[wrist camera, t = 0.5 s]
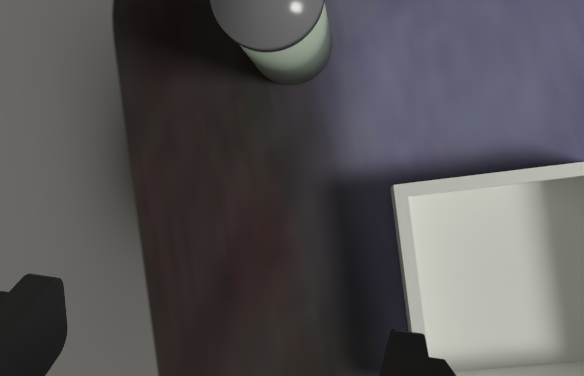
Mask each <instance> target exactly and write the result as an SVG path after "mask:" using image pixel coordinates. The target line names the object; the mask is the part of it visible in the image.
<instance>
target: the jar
mask: <svg viewBox="0 0 584 376" xmlns="http://www.w3.org/2000/svg"><path fill="white" fill-rule="evenodd" d="M324 1H325V0H210V3H211V7H212V11H213V13H214V16H215V18H216V20H217V22H218V23H219V25H220V26H221V28H222V29H223V30H224V31H225V33H226V34H227V35H228V36H229V37H230V38H231V39H232V40H233V41H234V42H236V43H237V44H239V45H240V46H241V47H242V49H243V50H244V51H245V53H246V54H247V55H248V56H249V58H250V59H251V60H252V62H253V63H254V64H255V66H256V67H257V68H258V69H259V71H260V72H261V73H262V74H263V75H264V76H265V77H266V78H268V79H269V80H271V81H273V82H275V83H278V84H282V85H298V84H302V83H305V82H307V81H309V80H311V79H313V78H314V77H316V76H317V75H318V74H319V73H320V72H321V71H322V70H323V69H324V67H325V66H326V64H327V62H328V60H329V58H330V54H331V50H332V36H331V32H330V27H329V22H328V18H327V13H326V8H325V4H324Z"/></svg>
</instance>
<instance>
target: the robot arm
mask: <svg viewBox="0 0 584 376" xmlns="http://www.w3.org/2000/svg"><path fill="white" fill-rule="evenodd" d="M66 336H67V318H66V307H65V296H64V286H63V282H62V280H61V279H60V278H56V277H49V276H42V275H35V274H27V275H25V276H24V277H23V278H22V279H21V280H20V281H19V282H18V283H17V284H16V285H15V286H14V287H13V289H12V290H11V291H10V292H3V291H1V292H0V376H45V375H46V374H47V372H48V371H49V369H50V368H51V366H52V365H53V363H54V362H55V360H56V359H57V357H58V356H59V354H60V353H61V351H62V349H63V347H64V344H65V341H66ZM380 376H456V374H455V373H454V372H453V370H452V369H451V367H450V366H449V365H448V363H447V362H446V361H445V359H439V358H432V357H429V355H428V349H427V344H426V339H425V335H424V334H423V333H416V332H409V331H403V330H396V329H392V330H391V332H390V336H389V340H388V344H387V348H386V352H385V356H384V360H383V364H382V368H381V372H380Z"/></svg>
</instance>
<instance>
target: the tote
mask: <svg viewBox="0 0 584 376" xmlns="http://www.w3.org/2000/svg"><path fill="white" fill-rule="evenodd" d="M390 190H391V198H392V206H393V214H394V222H395V230H396V238H397V246H398V254H399V262H400V269H401V277H402V285H403V293H404V301H405V309H406V317H407V325H408V331H409V332H416V333H423V334H424V335H425V339H426V344H427V349H428V355H429V357H432V358H439V359H445V361H446V362H447V363H448V365H449V366H450V367H451V369H452V370H453V372H454V373H455V374H456V376H584V162H578V163H570V164H561V165H553V166H545V167H537V168H528V169H520V170H512V171H504V172H495V173H487V174H479V175H471V176H462V177H454V178H446V179H438V180H429V181H421V182H413V183H405V184H396V185H393V186H392V187H391V188H390Z"/></svg>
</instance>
